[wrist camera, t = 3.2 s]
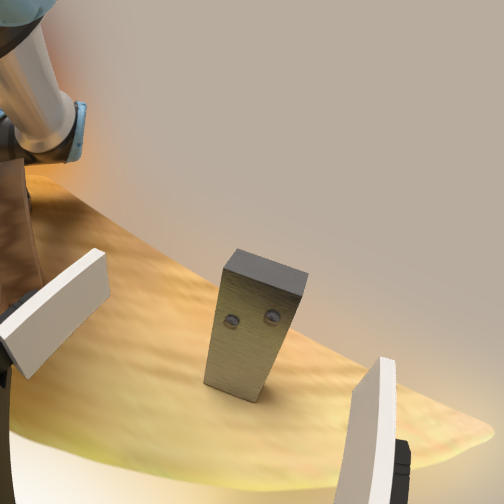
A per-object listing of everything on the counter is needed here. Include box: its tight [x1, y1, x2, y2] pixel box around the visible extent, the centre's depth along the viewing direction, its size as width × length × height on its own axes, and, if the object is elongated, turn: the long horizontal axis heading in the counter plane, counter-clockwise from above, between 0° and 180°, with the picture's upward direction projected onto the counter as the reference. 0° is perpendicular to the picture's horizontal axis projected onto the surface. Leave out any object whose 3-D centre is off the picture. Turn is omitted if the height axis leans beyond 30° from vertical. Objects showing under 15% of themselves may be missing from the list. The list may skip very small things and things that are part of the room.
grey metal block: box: [203, 249, 308, 403], centre depth 27 cm, size 4×6×16 cm, turn 72°
